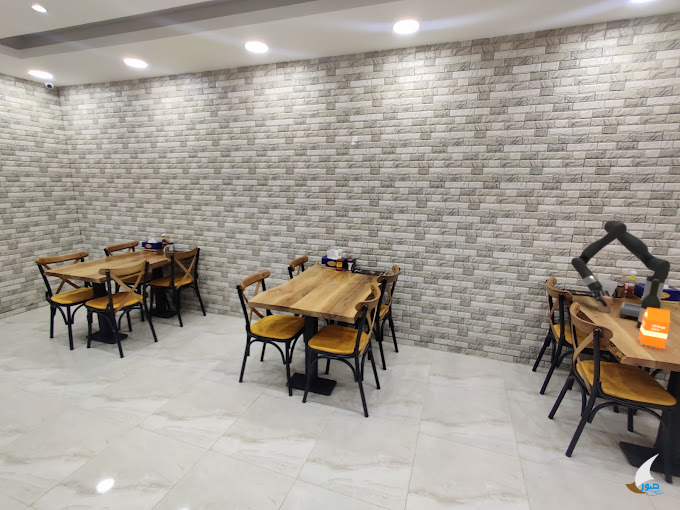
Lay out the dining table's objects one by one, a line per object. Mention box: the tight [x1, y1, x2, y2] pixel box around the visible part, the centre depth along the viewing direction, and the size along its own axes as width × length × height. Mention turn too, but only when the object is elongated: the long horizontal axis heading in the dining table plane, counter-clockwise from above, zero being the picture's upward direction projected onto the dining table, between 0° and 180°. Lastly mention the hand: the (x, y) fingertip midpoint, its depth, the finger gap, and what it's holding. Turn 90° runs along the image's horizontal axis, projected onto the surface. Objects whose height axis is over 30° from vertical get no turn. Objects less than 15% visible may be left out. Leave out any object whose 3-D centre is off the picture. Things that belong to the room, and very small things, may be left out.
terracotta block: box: [598, 296, 614, 314], centre depth 216 cm, size 5×5×10 cm
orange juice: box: [638, 307, 671, 349], centre depth 169 cm, size 8×9×20 cm
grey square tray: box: [619, 301, 641, 319], centre depth 206 cm, size 14×14×7 cm
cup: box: [597, 278, 618, 297], centre depth 240 cm, size 12×12×14 cm
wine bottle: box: [636, 279, 662, 329], centre depth 188 cm, size 8×8×30 cm
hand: (608, 305), depth 214 cm, fingers closed on terracotta block, 4 cm apart
